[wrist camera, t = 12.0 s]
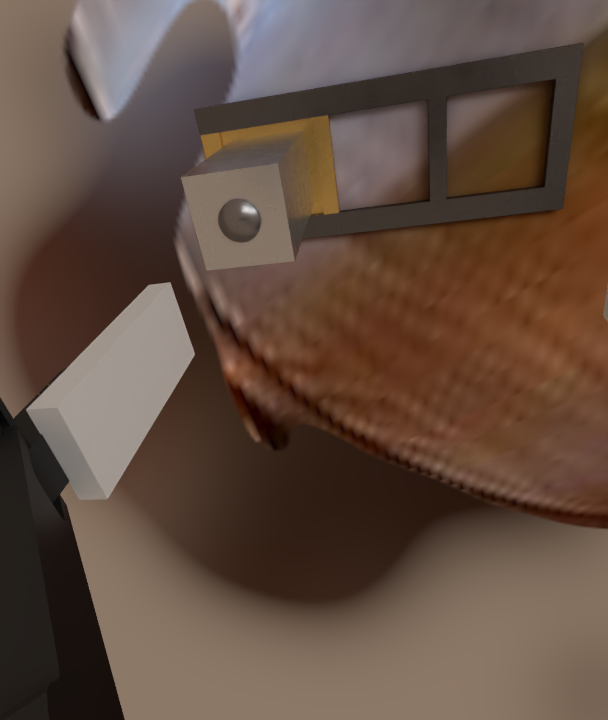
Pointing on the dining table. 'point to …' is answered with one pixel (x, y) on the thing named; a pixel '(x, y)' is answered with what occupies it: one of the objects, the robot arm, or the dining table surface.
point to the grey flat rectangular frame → (434, 85)
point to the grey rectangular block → (251, 201)
